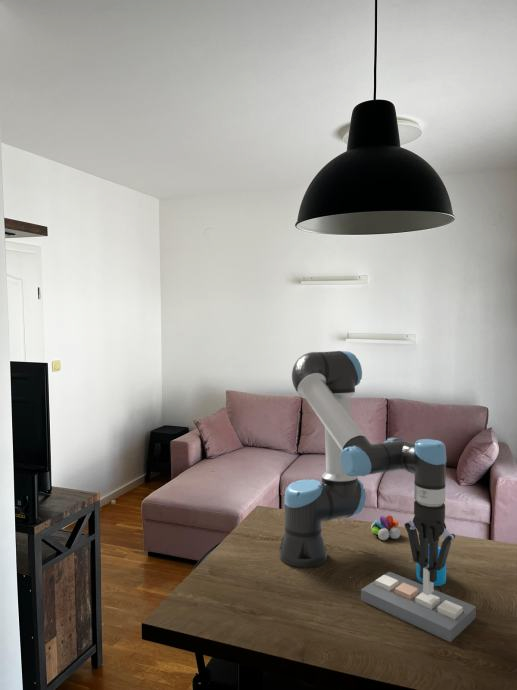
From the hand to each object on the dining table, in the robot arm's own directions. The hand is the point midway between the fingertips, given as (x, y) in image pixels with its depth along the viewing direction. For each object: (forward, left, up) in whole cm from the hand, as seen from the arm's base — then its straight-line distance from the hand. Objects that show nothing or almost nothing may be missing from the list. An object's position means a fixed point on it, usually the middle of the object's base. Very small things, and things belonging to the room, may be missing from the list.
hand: (428, 592), depth 133 cm
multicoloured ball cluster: (-33, +33, -6) cm, 47 cm away
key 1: (-12, 0, -5) cm, 13 cm away
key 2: (-6, 0, -5) cm, 8 cm away
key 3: (0, 0, -5) cm, 5 cm away
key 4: (+6, 0, -5) cm, 7 cm away
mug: (-9, +19, -6) cm, 22 cm away
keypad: (-3, 0, -6) cm, 7 cm away
